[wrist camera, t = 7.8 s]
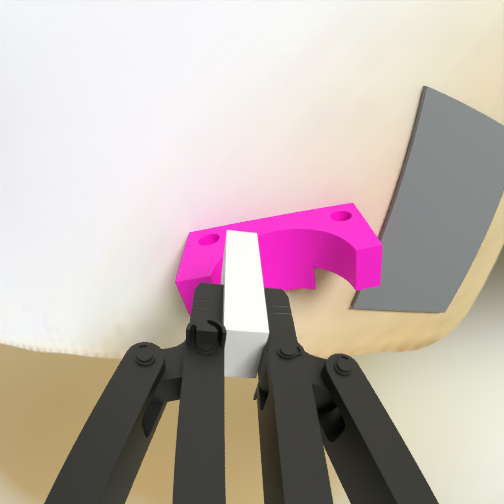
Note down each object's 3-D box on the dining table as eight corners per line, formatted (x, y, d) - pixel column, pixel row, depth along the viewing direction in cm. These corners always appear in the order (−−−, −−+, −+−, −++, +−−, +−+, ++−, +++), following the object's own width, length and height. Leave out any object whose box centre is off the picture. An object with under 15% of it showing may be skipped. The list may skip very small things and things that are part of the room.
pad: (351, 304, 34) (352, 308, 33) (423, 85, 21) (427, 86, 20) (442, 309, 35) (444, 312, 35) (517, 135, 22) (520, 136, 22)
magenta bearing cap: (208, 284, 32) (200, 339, 26) (189, 231, 29) (175, 281, 22) (354, 258, 31) (378, 308, 24) (352, 201, 27) (382, 245, 21)
